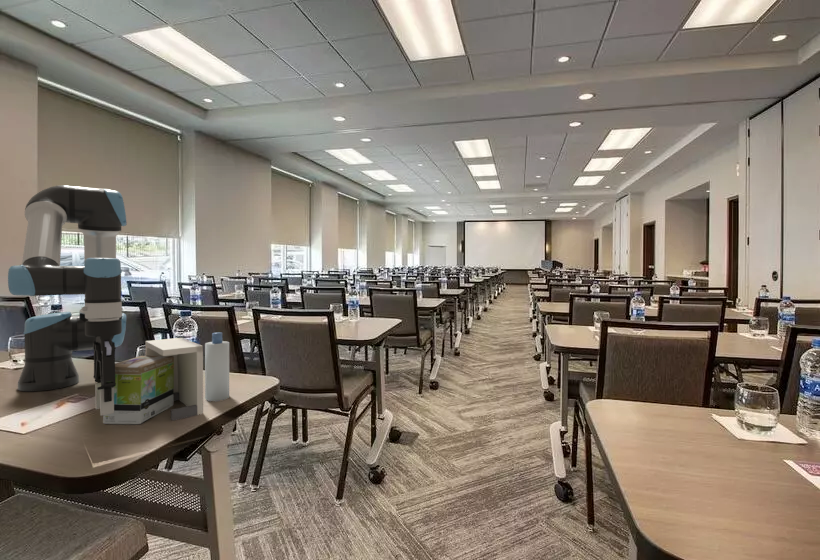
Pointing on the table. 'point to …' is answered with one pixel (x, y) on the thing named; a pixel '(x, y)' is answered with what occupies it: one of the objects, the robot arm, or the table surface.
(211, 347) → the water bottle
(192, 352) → the shelf
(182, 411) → the rails
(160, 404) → the tea box
